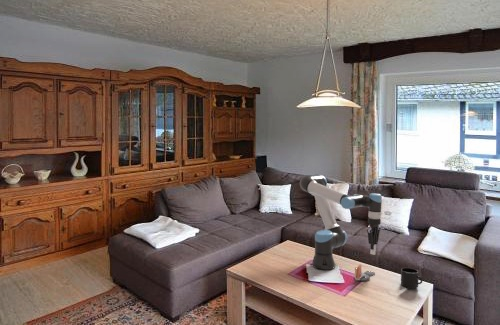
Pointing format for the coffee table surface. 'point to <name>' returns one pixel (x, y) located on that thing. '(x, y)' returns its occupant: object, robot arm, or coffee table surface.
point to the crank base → (362, 278)
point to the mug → (410, 278)
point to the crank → (359, 274)
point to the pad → (369, 273)
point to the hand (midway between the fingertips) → (372, 254)
